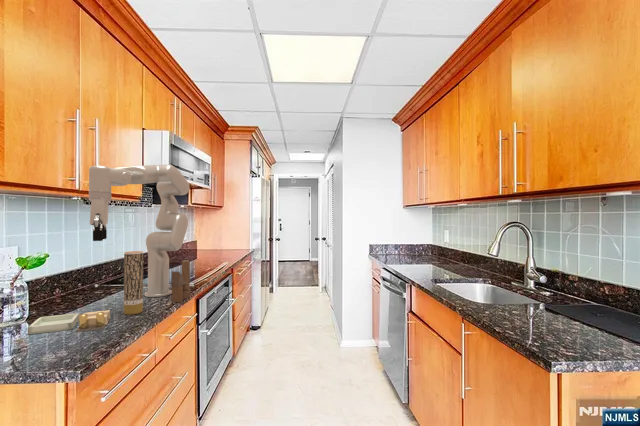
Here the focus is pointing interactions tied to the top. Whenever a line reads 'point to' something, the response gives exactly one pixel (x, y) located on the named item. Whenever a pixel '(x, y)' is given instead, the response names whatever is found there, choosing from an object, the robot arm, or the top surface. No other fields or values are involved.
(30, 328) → the tray
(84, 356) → the top surface
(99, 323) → the bench dogs
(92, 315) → the beige stepped block
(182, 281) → the wooden block
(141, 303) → the paper tube
